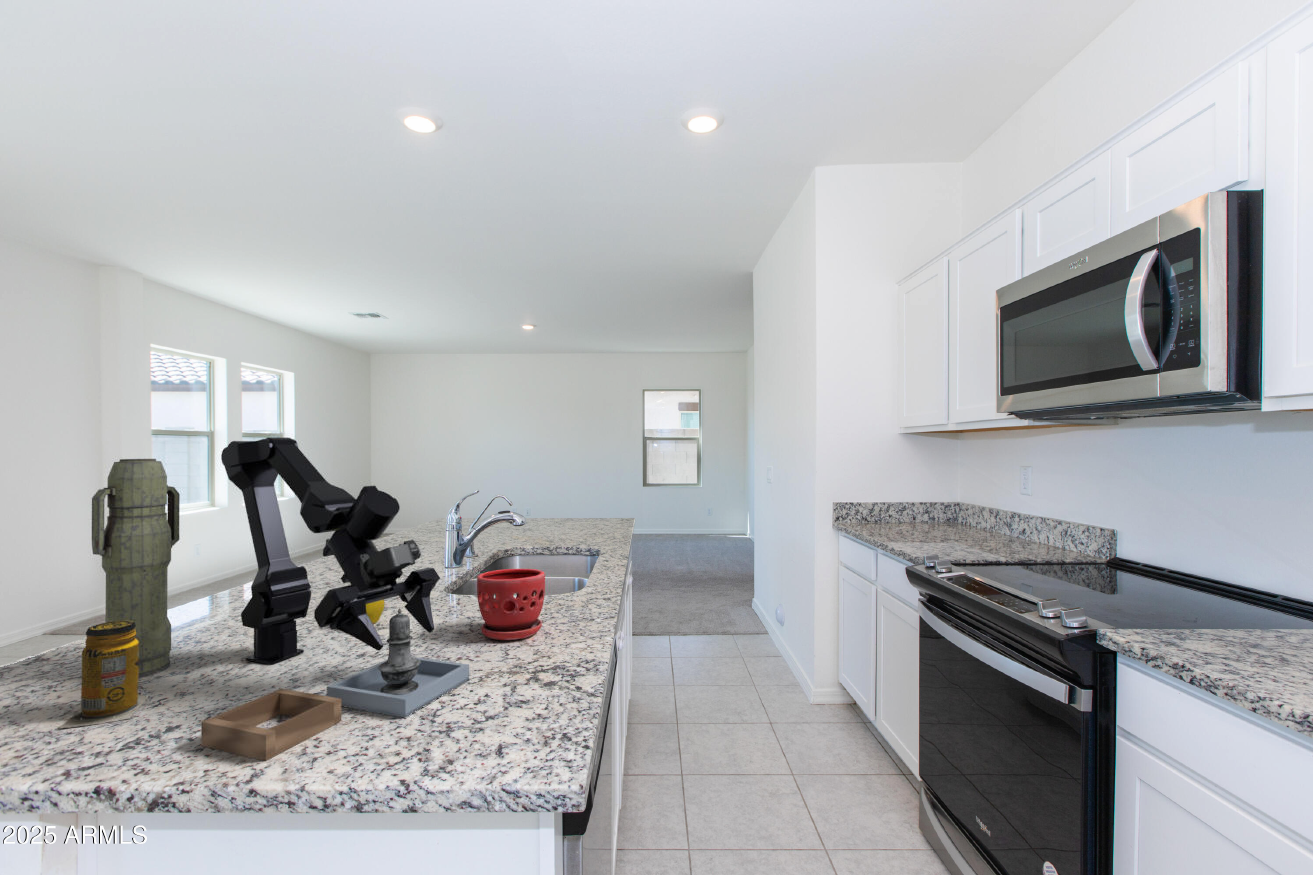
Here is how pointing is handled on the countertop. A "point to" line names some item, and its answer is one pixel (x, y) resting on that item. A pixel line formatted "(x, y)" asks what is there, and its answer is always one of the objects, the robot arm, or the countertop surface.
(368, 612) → the apple
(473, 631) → the countertop surface
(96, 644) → the condiment
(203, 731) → the socket block
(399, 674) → the salt shaker
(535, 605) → the plant pot
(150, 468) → the thermos
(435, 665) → the tray
